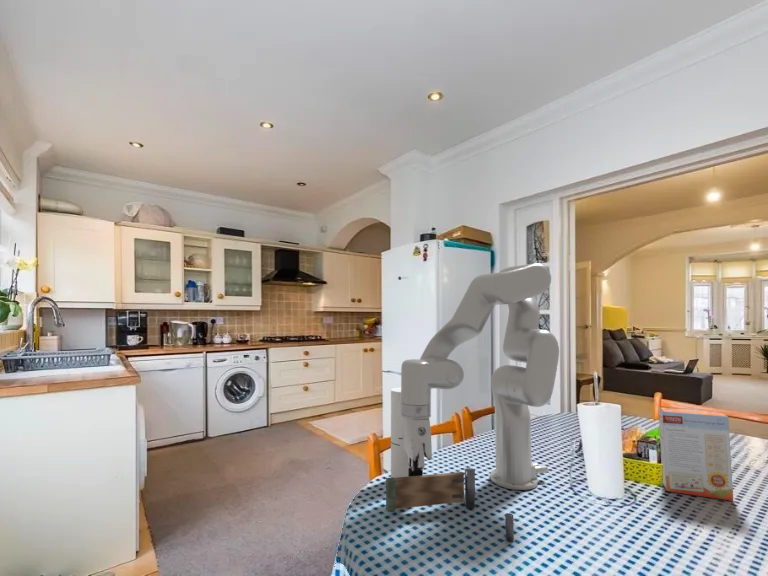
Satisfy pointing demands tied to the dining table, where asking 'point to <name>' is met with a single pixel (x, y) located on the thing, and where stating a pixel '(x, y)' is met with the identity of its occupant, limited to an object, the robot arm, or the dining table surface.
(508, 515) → the post
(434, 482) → the wooden plank on edge
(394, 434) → the cylindrical container
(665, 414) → the cracker box
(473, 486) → the hinge post
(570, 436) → the dining table surface
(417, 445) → the robot arm
